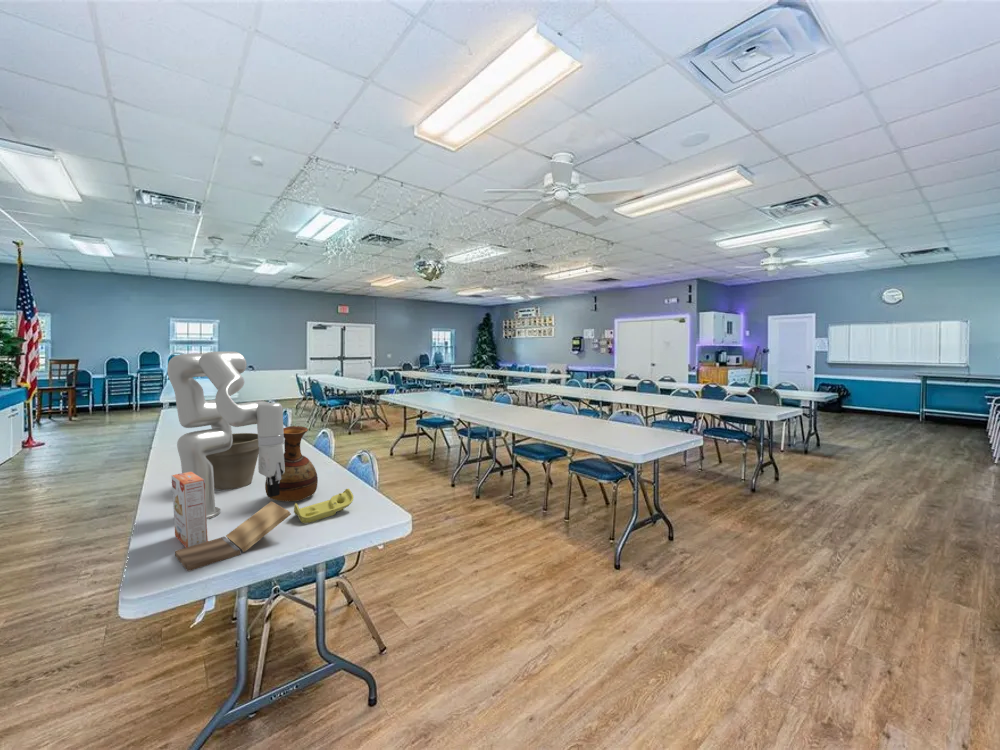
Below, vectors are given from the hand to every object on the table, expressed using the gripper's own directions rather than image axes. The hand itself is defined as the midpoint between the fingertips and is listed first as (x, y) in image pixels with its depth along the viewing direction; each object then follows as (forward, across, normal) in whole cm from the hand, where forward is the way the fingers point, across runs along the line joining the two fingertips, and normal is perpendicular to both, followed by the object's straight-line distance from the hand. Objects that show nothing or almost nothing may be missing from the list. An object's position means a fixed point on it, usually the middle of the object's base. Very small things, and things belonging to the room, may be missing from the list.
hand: (273, 495), depth 141 cm
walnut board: (+13, -1, -19) cm, 23 cm away
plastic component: (+14, -5, +20) cm, 25 cm away
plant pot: (+12, -71, +9) cm, 72 cm away
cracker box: (+13, -17, -20) cm, 29 cm away
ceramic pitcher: (+13, -33, +20) cm, 40 cm away
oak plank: (+9, -1, -4) cm, 10 cm away
